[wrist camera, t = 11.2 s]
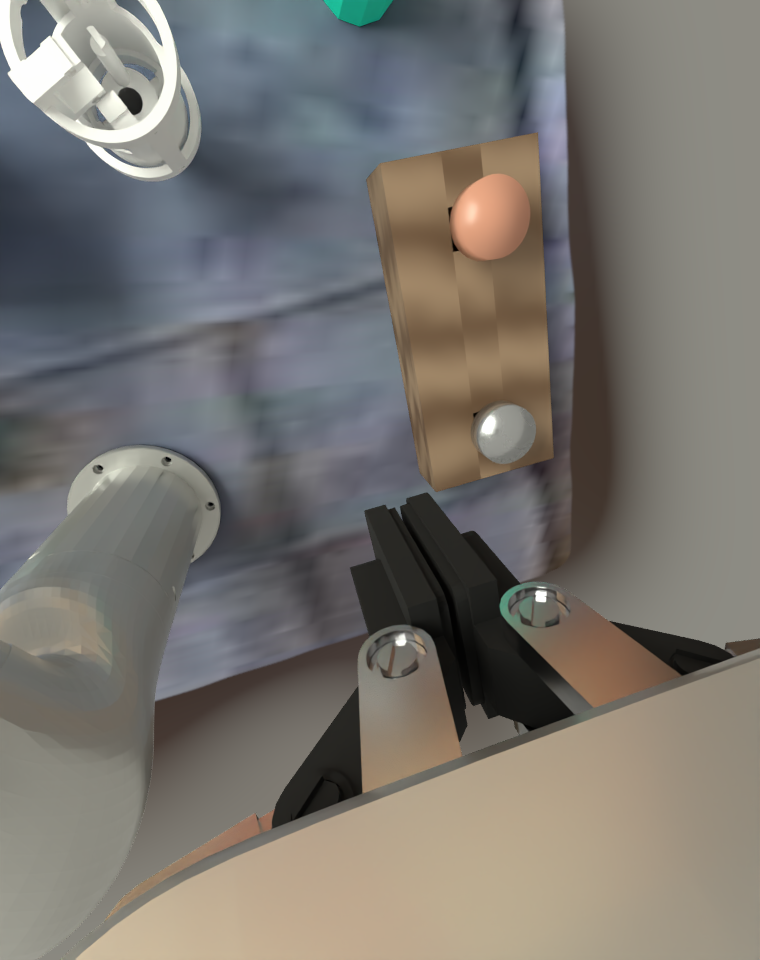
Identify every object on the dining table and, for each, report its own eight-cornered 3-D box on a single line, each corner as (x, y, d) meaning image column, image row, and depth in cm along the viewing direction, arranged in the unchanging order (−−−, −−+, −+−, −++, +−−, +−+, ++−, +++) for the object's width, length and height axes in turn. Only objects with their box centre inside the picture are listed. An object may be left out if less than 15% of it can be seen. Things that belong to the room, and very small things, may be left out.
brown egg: (487, 258, 38) (532, 250, 32) (431, 270, 38) (465, 266, 31) (481, 189, 36) (527, 166, 30) (422, 201, 36) (455, 181, 29)
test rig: (527, 442, 49) (553, 457, 44) (420, 472, 47) (436, 492, 43) (505, 151, 38) (537, 132, 33) (366, 179, 36) (380, 163, 32)
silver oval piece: (499, 432, 46) (537, 455, 39) (452, 445, 45) (483, 470, 39) (494, 383, 44) (534, 399, 37) (445, 396, 43) (477, 414, 37)
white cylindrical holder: (80, 122, 31) (-65, -8, 18) (158, 53, 31) (72, -133, 17) (159, 218, 34) (88, 170, 21) (232, 158, 34) (207, 68, 20)
